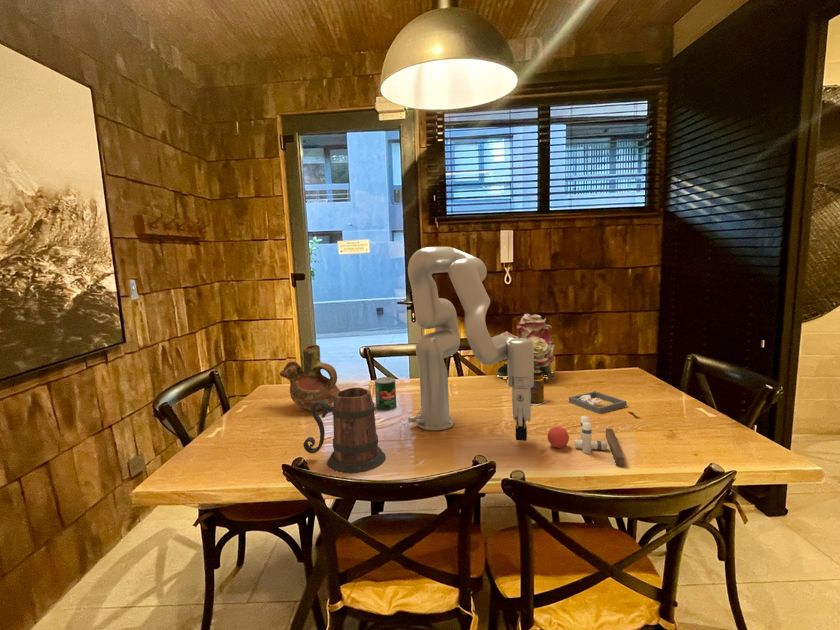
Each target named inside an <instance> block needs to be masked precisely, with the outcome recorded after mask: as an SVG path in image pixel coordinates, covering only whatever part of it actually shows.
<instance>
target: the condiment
mask: <svg viewBox="0 0 840 630" xmlns="http://www.w3.org/2000/svg"><path fill="white" fill-rule="evenodd" d="M544 384H545V383H544V379H543V372H542V371H541V370H534V386H533V387H531V388H530V391H531V407H532V406H533V407H538V406H540V405H541V404H545V403H547V402H548V401H549V400H548V399H545V398H544V396H545V392H544V391H545V387H544V386H545V385H544Z"/></svg>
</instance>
